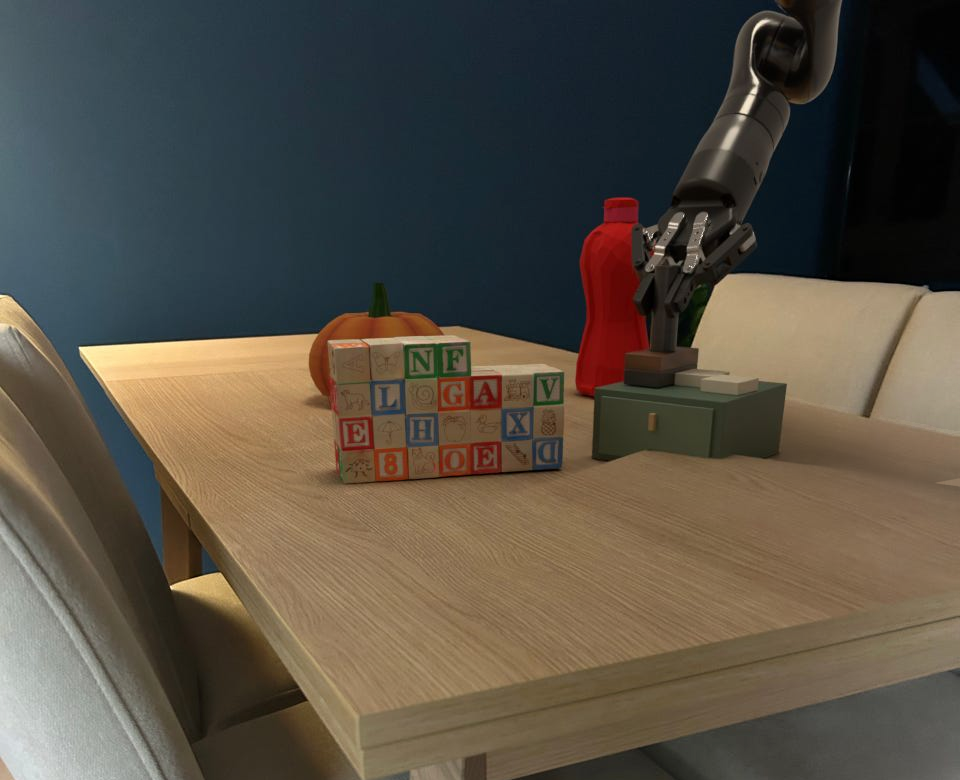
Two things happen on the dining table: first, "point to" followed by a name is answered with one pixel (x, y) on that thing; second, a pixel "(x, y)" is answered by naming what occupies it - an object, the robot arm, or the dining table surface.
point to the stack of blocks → (439, 411)
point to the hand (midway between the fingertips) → (655, 310)
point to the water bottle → (610, 299)
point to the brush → (660, 341)
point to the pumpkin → (365, 332)
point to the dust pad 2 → (729, 384)
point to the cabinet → (687, 421)
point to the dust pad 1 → (695, 377)
